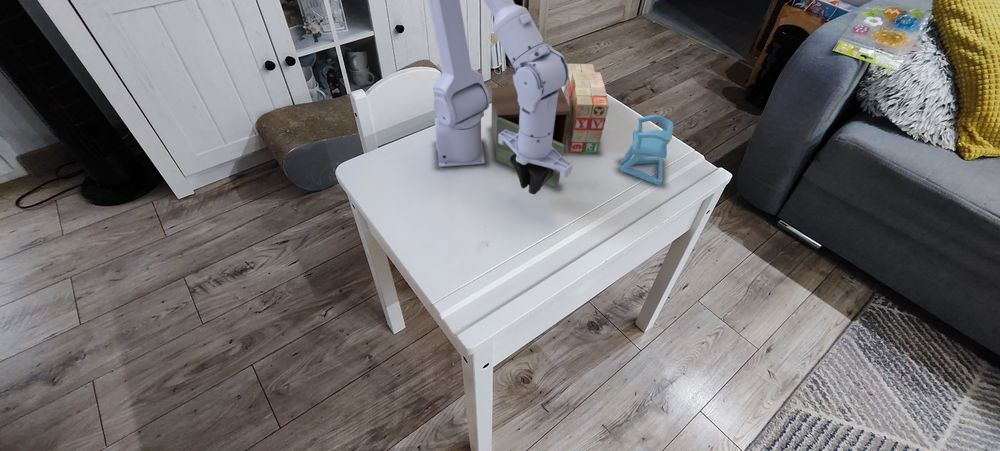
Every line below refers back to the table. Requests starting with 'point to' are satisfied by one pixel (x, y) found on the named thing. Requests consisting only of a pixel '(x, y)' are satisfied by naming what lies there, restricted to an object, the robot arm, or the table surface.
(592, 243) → the table surface
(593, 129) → the stack of blocks
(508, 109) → the cupboard
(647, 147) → the chair
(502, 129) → the cupboard door
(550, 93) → the robot arm
